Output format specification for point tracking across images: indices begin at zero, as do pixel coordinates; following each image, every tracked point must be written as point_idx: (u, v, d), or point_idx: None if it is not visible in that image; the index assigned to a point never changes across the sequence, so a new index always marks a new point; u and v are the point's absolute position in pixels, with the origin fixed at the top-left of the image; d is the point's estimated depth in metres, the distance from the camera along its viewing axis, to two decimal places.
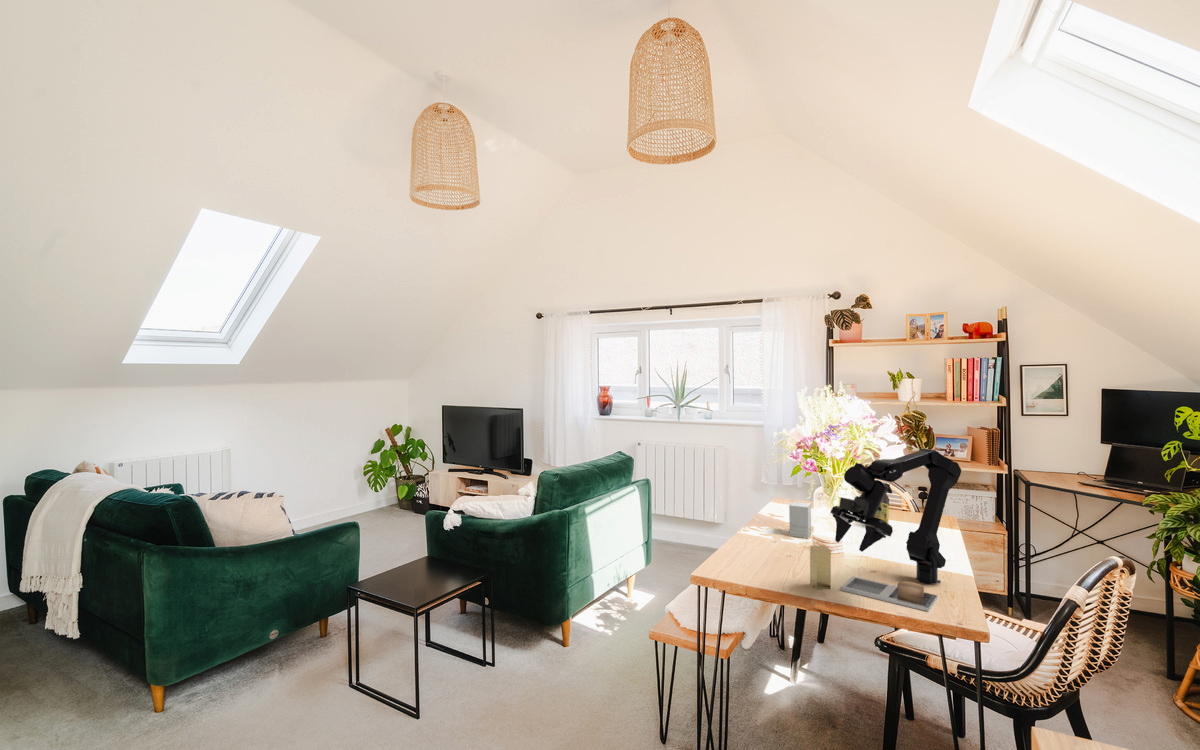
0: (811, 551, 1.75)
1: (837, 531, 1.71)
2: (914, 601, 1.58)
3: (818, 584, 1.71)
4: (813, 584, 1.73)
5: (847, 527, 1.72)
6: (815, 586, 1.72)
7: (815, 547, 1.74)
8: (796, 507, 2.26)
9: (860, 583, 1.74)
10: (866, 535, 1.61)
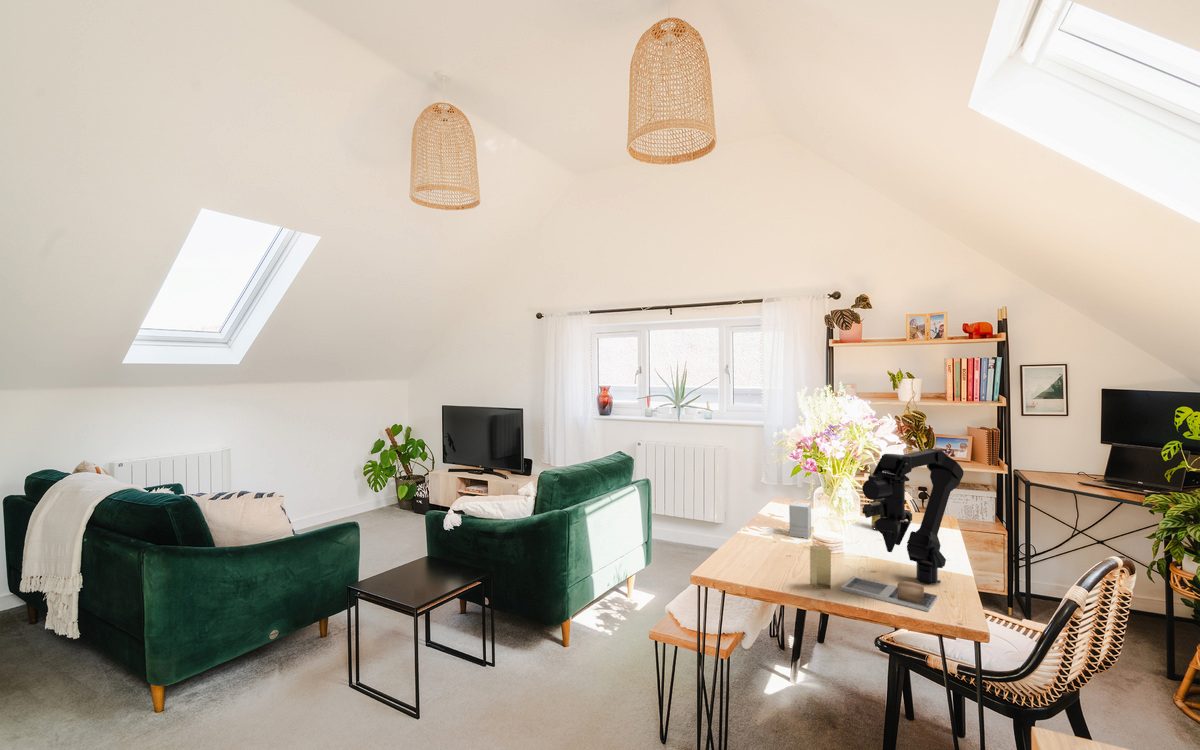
0: (811, 551, 1.75)
1: None
2: (914, 601, 1.58)
3: (818, 584, 1.71)
4: (813, 584, 1.73)
5: (904, 527, 1.73)
6: (815, 586, 1.72)
7: (815, 547, 1.74)
8: (796, 507, 2.26)
9: (860, 583, 1.74)
10: None
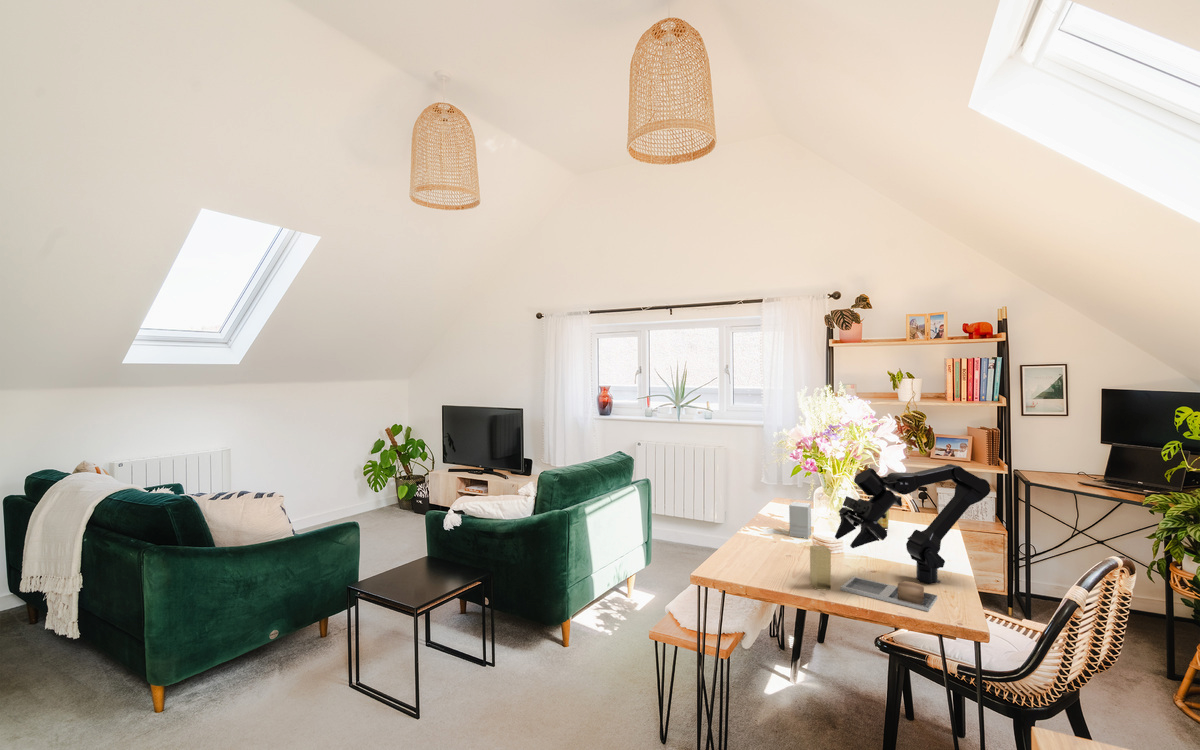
0: (811, 551, 1.75)
1: (839, 529, 1.79)
2: (914, 601, 1.58)
3: (818, 584, 1.71)
4: (813, 584, 1.73)
5: (850, 528, 1.80)
6: (815, 586, 1.72)
7: (815, 547, 1.74)
8: (796, 507, 2.26)
9: (860, 583, 1.74)
10: (860, 534, 1.69)
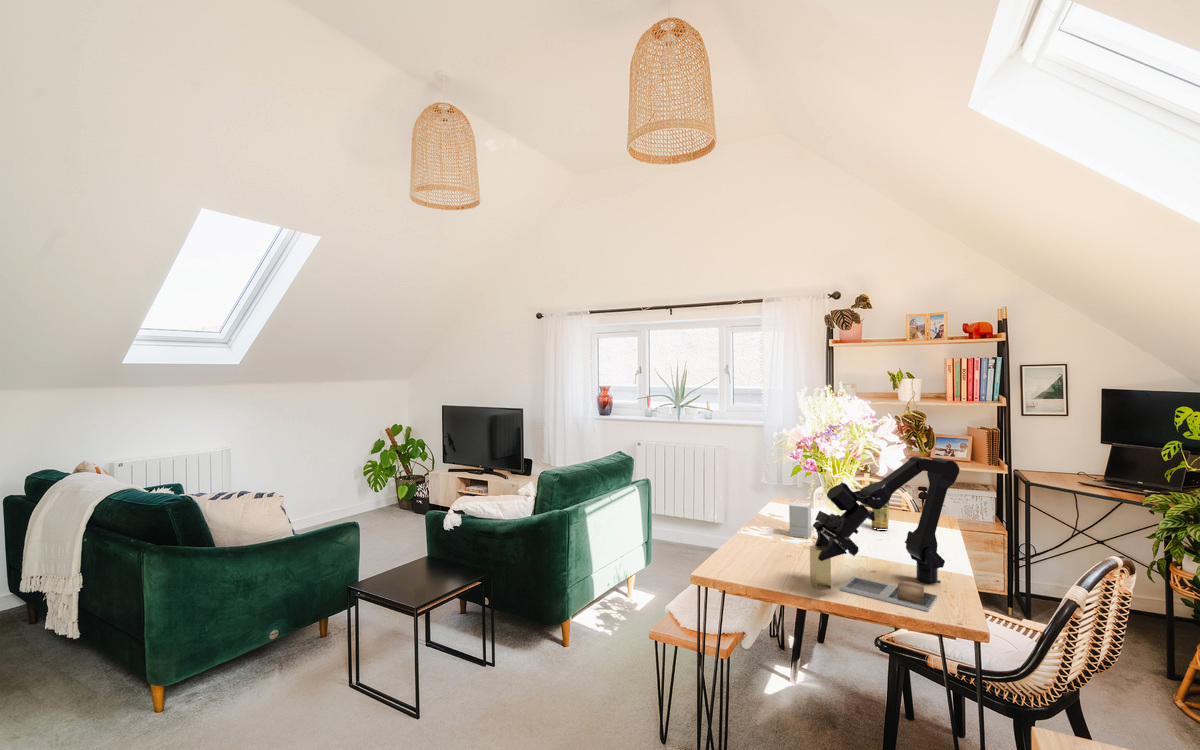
0: (811, 551, 1.75)
1: (815, 545, 1.77)
2: (914, 601, 1.58)
3: (818, 584, 1.72)
4: (813, 584, 1.73)
5: (827, 545, 1.77)
6: (815, 586, 1.72)
7: (815, 547, 1.74)
8: (796, 507, 2.26)
9: (860, 583, 1.74)
10: (828, 547, 1.71)
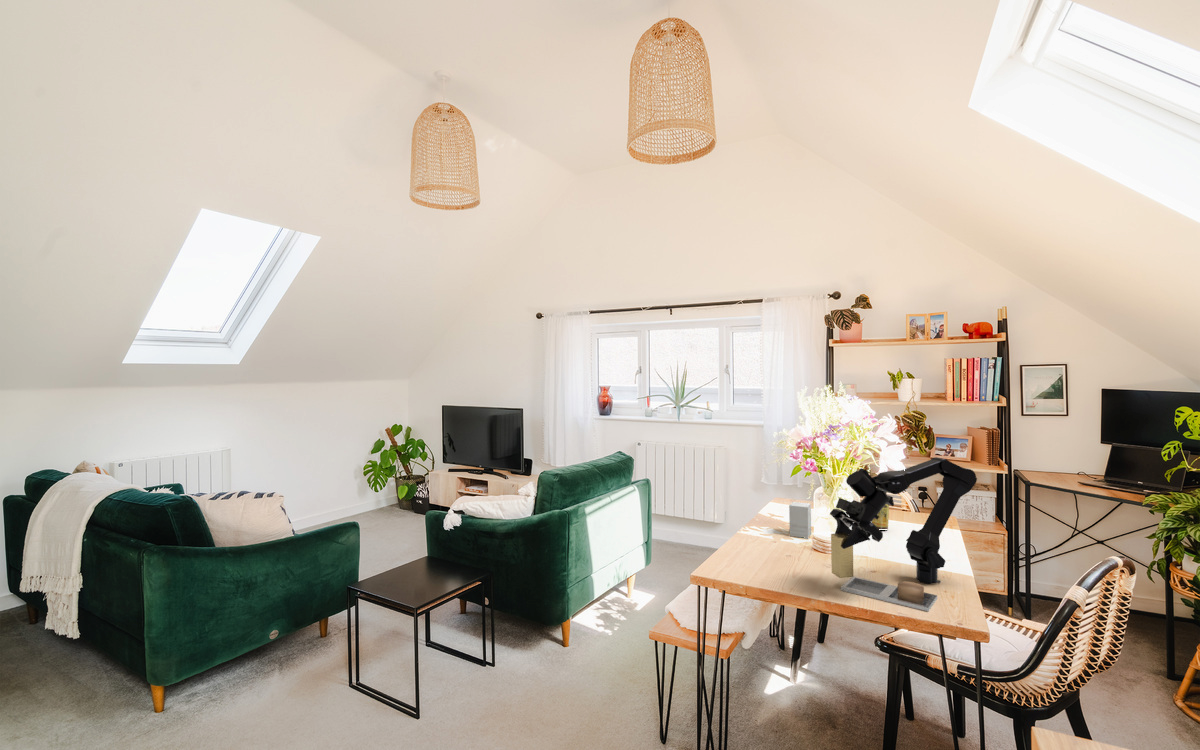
0: (833, 538, 1.72)
1: None
2: (914, 601, 1.58)
3: (841, 572, 1.69)
4: (836, 572, 1.71)
5: (847, 532, 1.75)
6: (838, 574, 1.70)
7: (836, 535, 1.72)
8: (796, 507, 2.26)
9: (860, 583, 1.74)
10: (851, 534, 1.68)
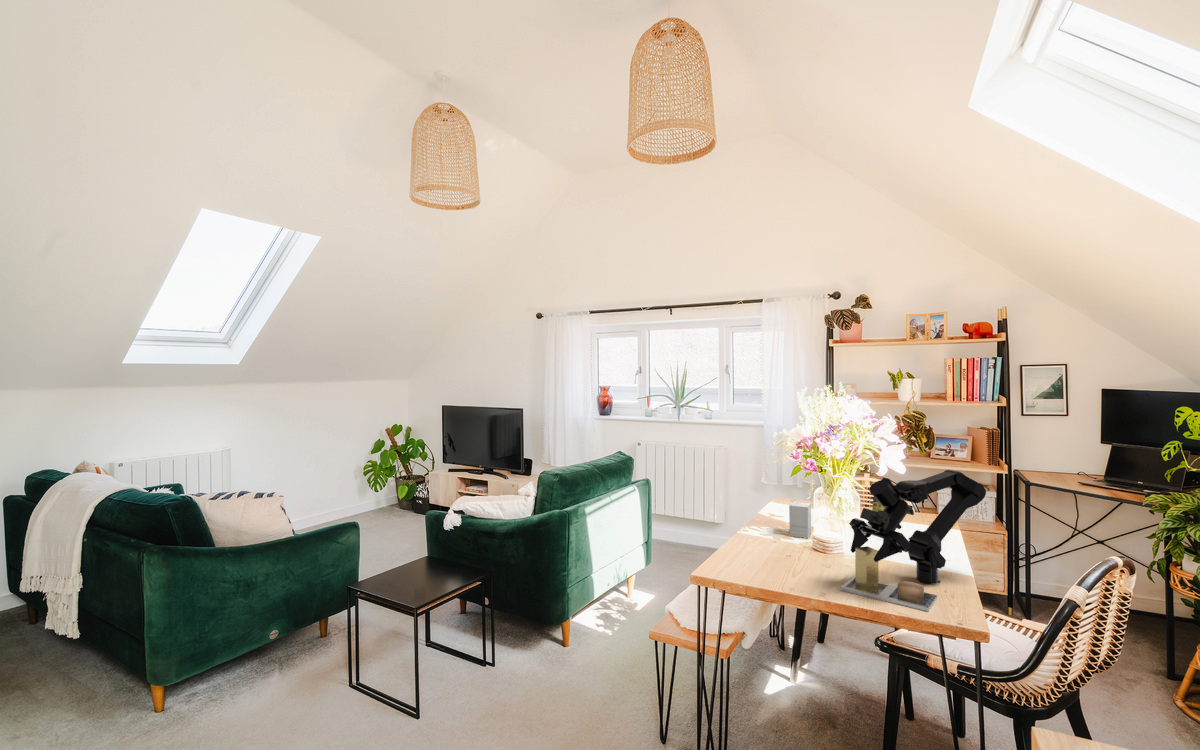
0: (858, 553, 1.69)
1: (854, 541, 1.74)
2: (914, 601, 1.58)
3: (867, 587, 1.67)
4: (861, 587, 1.68)
5: (864, 540, 1.75)
6: (864, 589, 1.67)
7: (862, 549, 1.69)
8: (796, 507, 2.26)
9: None
10: (883, 546, 1.64)
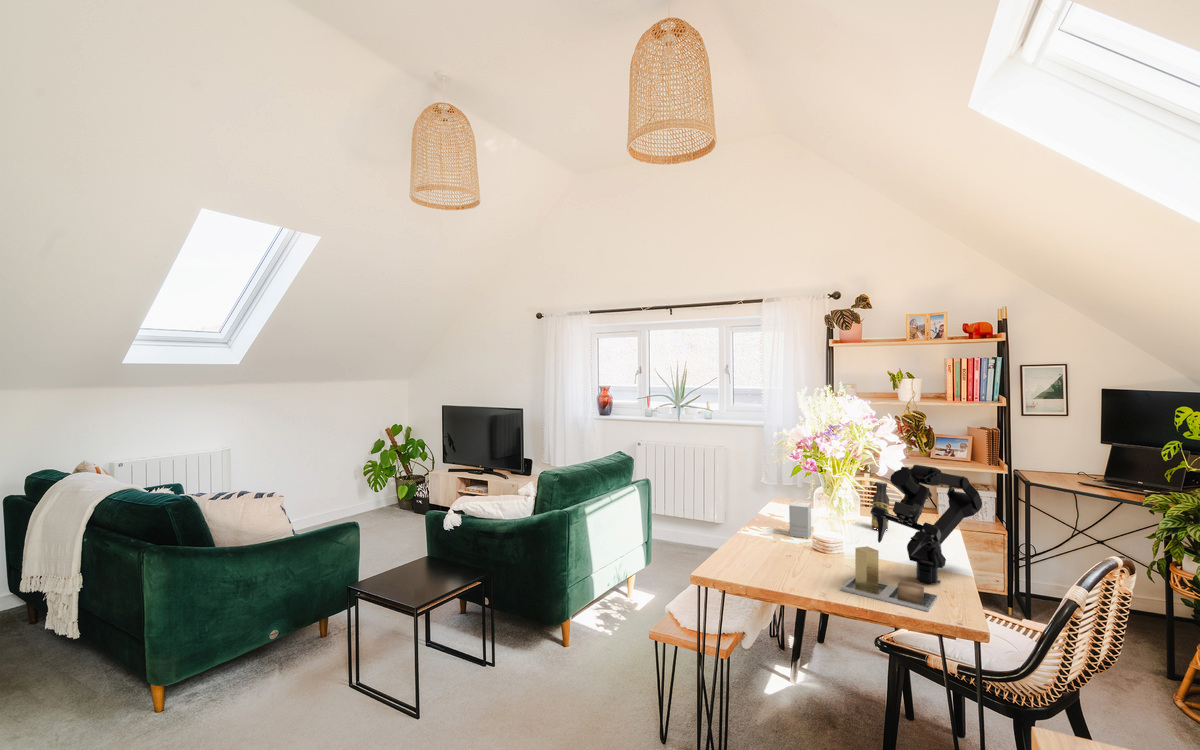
0: (858, 553, 1.69)
1: (880, 532, 1.73)
2: (914, 601, 1.58)
3: (867, 587, 1.67)
4: (861, 587, 1.68)
5: (885, 527, 1.75)
6: (864, 589, 1.67)
7: (862, 549, 1.69)
8: (796, 507, 2.26)
9: None
10: (919, 540, 1.65)
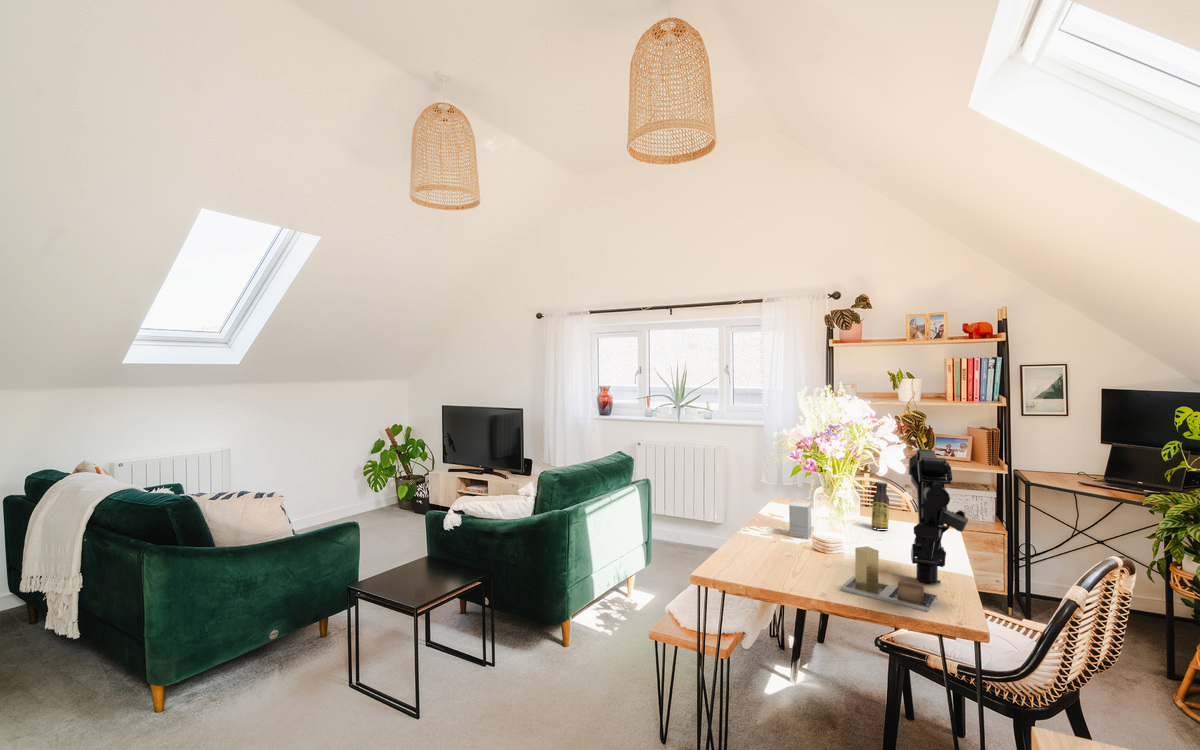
0: (858, 553, 1.69)
1: (933, 549, 1.60)
2: (914, 601, 1.58)
3: (867, 587, 1.67)
4: (861, 587, 1.68)
5: None
6: (864, 589, 1.67)
7: (862, 549, 1.69)
8: (796, 507, 2.26)
9: None
10: None
